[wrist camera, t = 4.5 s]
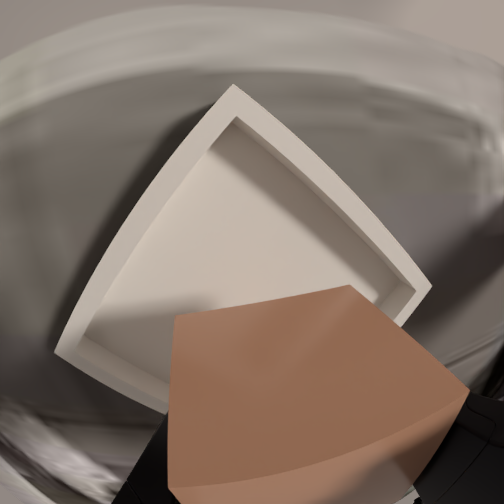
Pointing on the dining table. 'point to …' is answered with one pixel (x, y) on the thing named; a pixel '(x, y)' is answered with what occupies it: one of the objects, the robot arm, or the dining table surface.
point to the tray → (228, 247)
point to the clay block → (303, 403)
